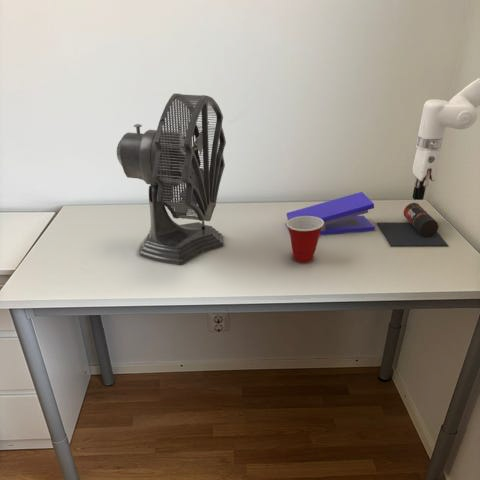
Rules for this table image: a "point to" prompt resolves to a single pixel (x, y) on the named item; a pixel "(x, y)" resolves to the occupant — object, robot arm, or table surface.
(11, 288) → the table surface
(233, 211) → the table surface
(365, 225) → the stapler
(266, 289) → the table surface
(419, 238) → the mat
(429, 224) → the deodorant
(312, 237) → the plastic cup
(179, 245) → the desk fan
